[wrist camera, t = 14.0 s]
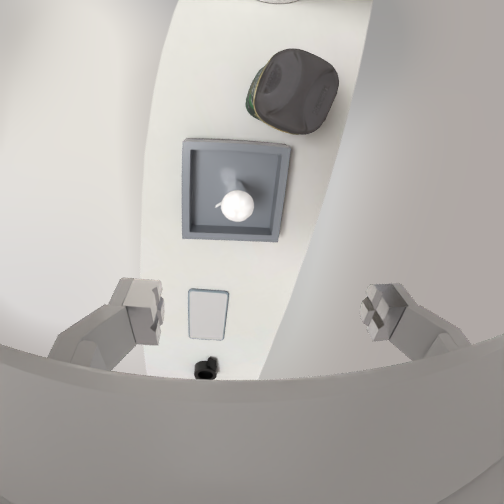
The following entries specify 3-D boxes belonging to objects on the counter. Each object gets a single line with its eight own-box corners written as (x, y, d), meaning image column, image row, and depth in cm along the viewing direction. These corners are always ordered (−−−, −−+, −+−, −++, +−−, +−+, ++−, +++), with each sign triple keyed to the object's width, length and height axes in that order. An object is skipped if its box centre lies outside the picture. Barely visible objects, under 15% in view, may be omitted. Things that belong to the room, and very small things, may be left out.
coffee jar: (260, 60, 35) (283, 32, 19) (306, 79, 37) (355, 67, 21) (237, 113, 40) (245, 118, 24) (284, 130, 42) (320, 148, 26)
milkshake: (220, 171, 43) (219, 190, 35) (252, 179, 44) (259, 199, 36) (214, 197, 45) (211, 222, 37) (245, 204, 47) (250, 230, 38)
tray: (186, 138, 41) (182, 141, 37) (285, 144, 43) (290, 148, 39) (185, 228, 49) (182, 238, 45) (274, 231, 51) (277, 242, 47)
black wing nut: (229, 367, 70) (229, 376, 68) (200, 378, 72) (199, 386, 70) (212, 353, 67) (211, 361, 64) (182, 365, 68) (181, 373, 66)
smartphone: (188, 338, 62) (188, 289, 55) (189, 335, 63) (188, 286, 56) (223, 341, 64) (229, 292, 56) (223, 338, 64) (229, 289, 57)
